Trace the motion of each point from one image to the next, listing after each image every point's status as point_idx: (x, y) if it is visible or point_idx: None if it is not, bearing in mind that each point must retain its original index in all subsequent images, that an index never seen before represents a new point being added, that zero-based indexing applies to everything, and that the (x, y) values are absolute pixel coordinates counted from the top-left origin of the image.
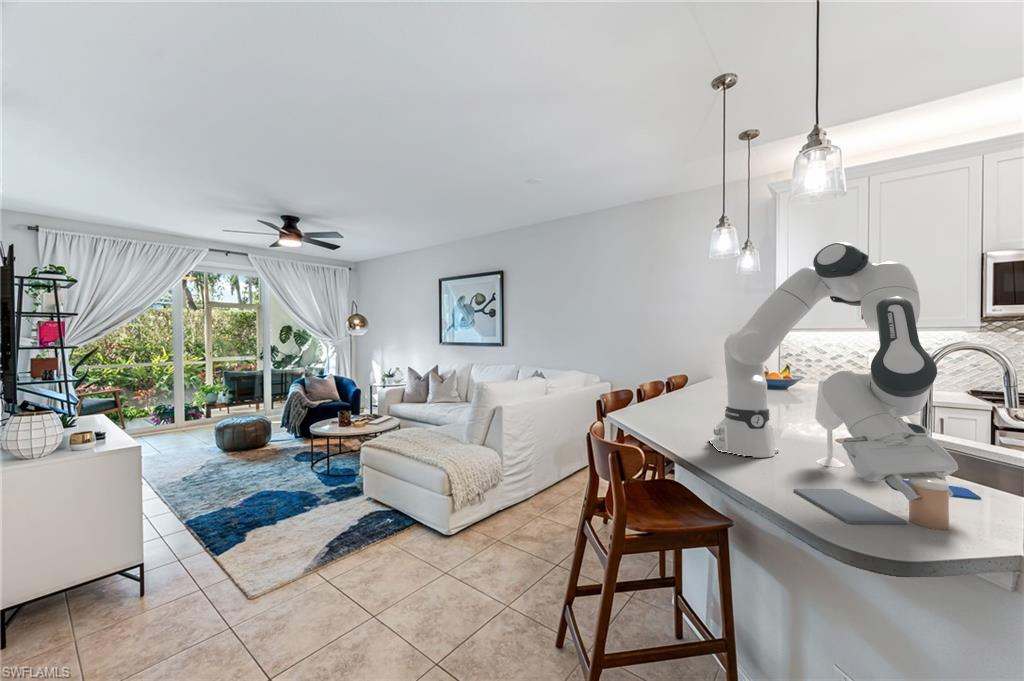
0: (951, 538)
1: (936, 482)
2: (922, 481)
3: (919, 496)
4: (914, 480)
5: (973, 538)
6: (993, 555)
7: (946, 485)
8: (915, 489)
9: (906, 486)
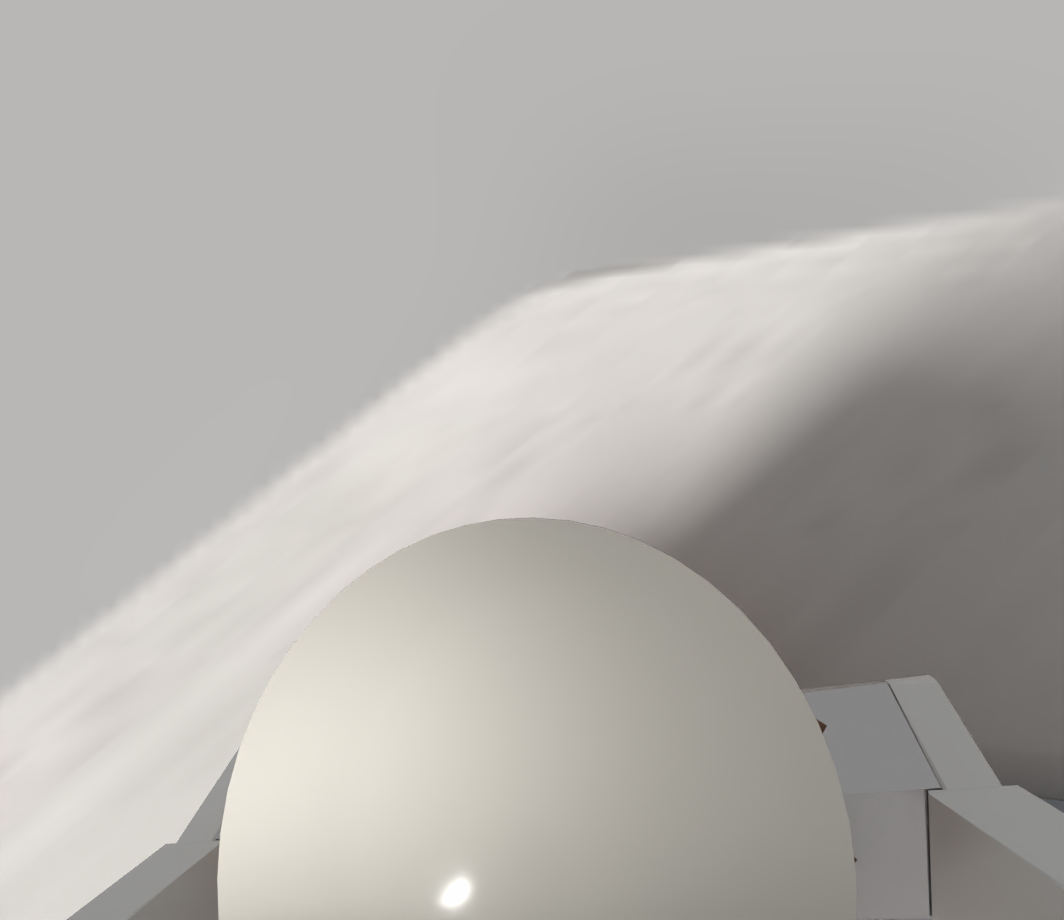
0: (712, 486)
1: (481, 668)
2: (708, 761)
3: (836, 686)
4: (844, 854)
5: (541, 488)
6: (668, 270)
7: (442, 537)
8: (848, 775)
9: (1060, 815)
